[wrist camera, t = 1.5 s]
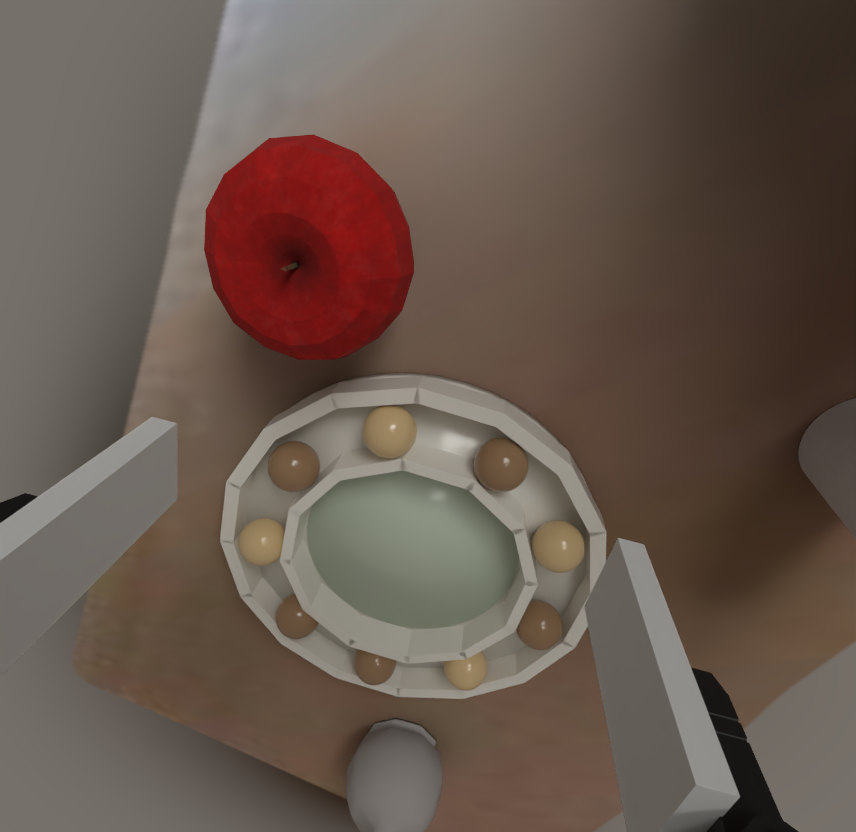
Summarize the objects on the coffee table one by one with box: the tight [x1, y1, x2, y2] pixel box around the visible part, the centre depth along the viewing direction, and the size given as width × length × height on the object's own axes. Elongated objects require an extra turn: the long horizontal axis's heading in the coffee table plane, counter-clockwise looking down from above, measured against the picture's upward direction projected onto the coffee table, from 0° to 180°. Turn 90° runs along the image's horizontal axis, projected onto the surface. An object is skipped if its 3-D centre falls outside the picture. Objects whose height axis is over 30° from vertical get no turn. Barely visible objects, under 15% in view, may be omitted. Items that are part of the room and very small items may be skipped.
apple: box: [204, 135, 414, 360], centre depth 25 cm, size 10×10×11 cm
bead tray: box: [220, 373, 606, 699], centre depth 37 cm, size 27×27×4 cm
